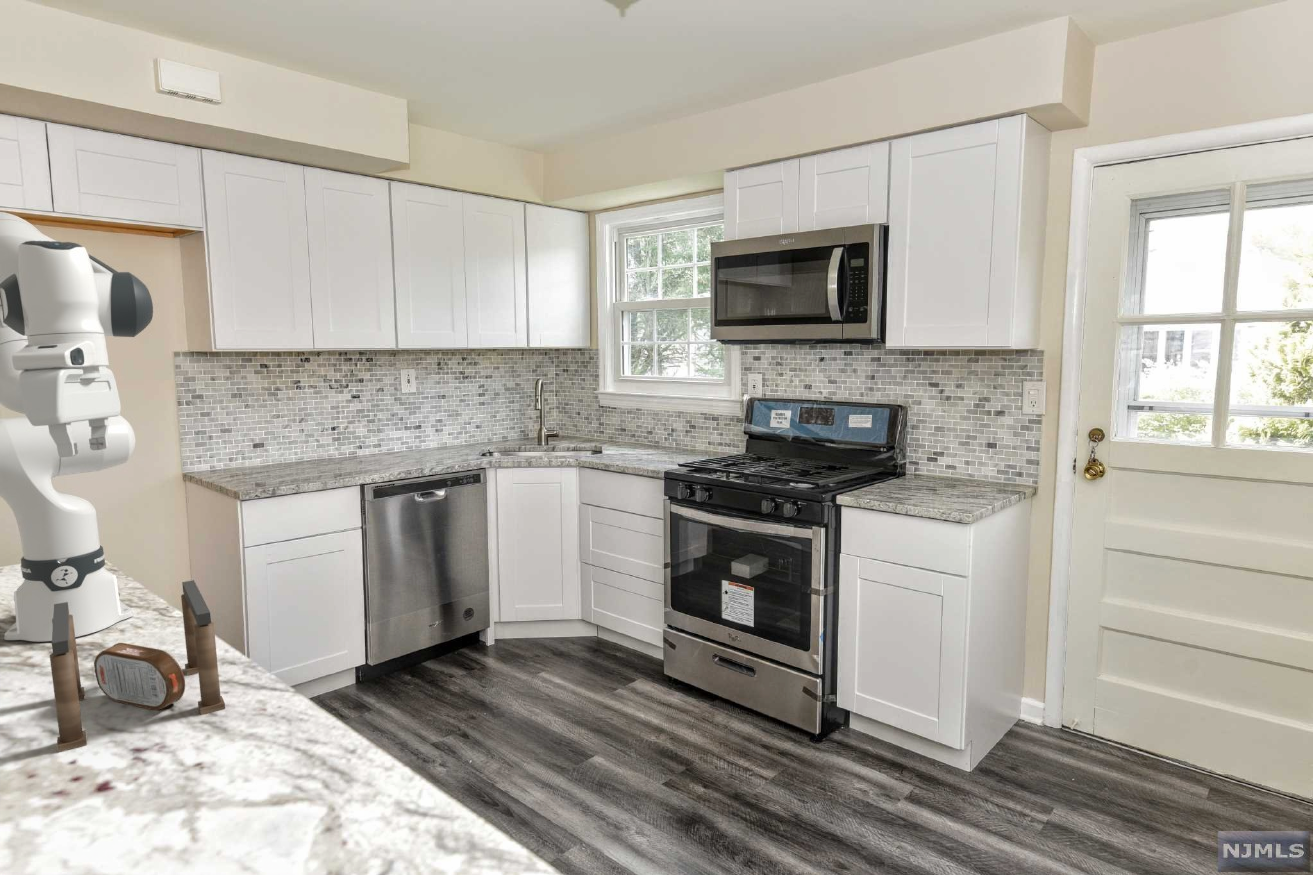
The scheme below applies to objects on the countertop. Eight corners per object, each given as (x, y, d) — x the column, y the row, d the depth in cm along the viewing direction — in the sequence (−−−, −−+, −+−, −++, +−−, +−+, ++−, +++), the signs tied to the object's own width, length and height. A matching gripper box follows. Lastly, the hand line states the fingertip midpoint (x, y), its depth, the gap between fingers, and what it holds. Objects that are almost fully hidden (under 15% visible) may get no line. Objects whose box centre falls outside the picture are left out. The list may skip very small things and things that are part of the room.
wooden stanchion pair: (59, 697, 115) (49, 616, 113) (206, 663, 126) (199, 590, 125) (57, 752, 100) (46, 660, 98) (225, 708, 111) (217, 625, 109)
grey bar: (55, 614, 113) (54, 604, 113) (69, 612, 114) (67, 601, 114) (53, 655, 99) (51, 643, 99) (68, 652, 100) (67, 640, 100)
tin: (189, 706, 112) (184, 650, 111) (169, 716, 109) (163, 659, 108) (114, 691, 117) (108, 637, 116) (93, 700, 114) (86, 645, 113)
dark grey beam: (183, 591, 123) (182, 582, 123) (194, 589, 124) (193, 580, 123) (198, 625, 108) (197, 614, 108) (211, 623, 109) (210, 612, 109)
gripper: (79, 358, 120) (92, 448, 121) (3, 356, 100) (21, 463, 101) (125, 355, 121) (138, 444, 123) (60, 353, 101) (76, 458, 103)
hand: (84, 453), depth 112 cm, fingers open, 8 cm apart
